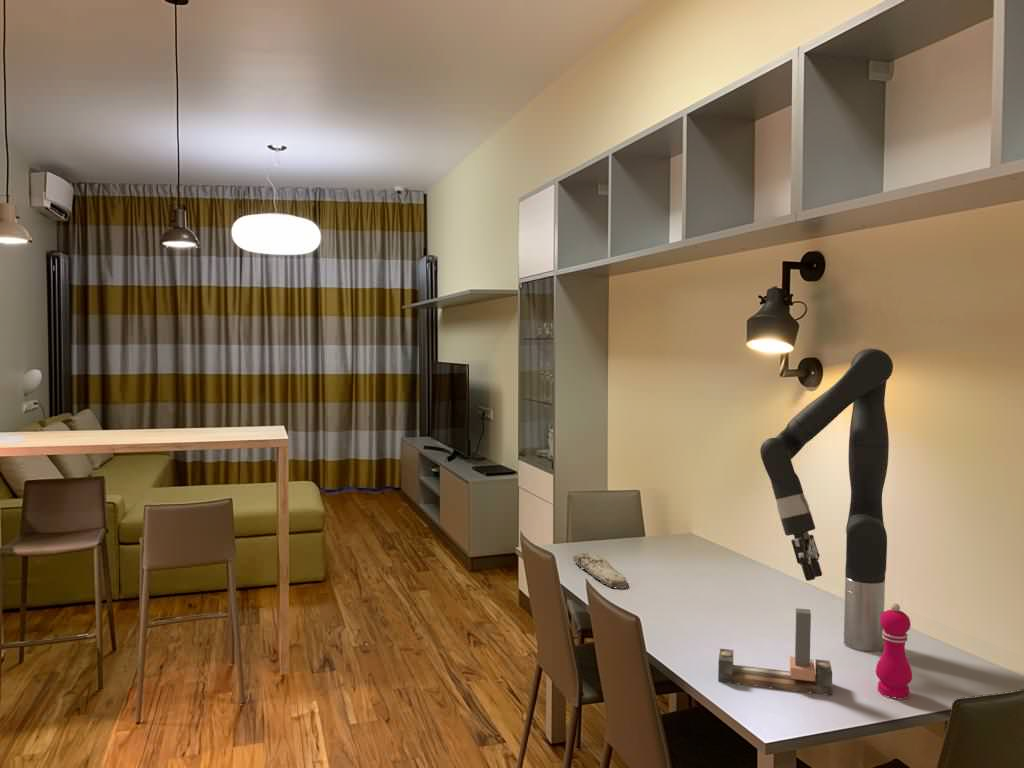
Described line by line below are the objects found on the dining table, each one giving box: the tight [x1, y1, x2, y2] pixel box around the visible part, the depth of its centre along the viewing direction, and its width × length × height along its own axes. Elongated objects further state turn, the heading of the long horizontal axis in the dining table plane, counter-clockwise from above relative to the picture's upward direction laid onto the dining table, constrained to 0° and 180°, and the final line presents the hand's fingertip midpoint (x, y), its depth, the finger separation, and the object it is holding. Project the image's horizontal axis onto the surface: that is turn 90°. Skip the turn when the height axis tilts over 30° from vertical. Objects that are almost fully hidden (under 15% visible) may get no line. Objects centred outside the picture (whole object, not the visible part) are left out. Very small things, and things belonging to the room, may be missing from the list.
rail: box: [717, 648, 833, 696], centre depth 180 cm, size 24×7×5 cm, turn 72°
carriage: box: [789, 607, 815, 681], centre depth 178 cm, size 5×6×14 cm
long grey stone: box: [572, 551, 628, 589], centre depth 265 cm, size 35×5×10 cm
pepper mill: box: [875, 602, 913, 699], centre depth 174 cm, size 7×7×20 cm
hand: (814, 578), depth 199 cm, fingers open, 8 cm apart
